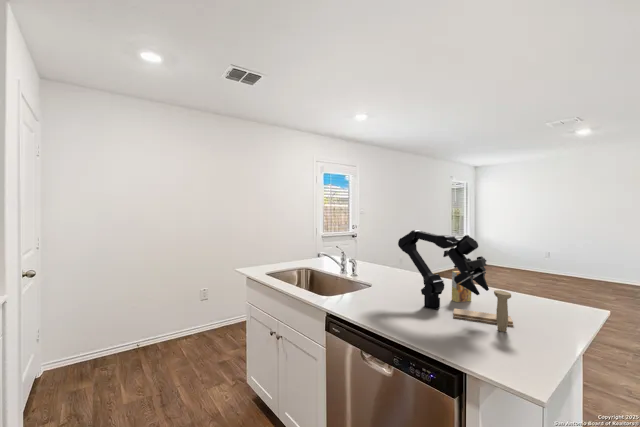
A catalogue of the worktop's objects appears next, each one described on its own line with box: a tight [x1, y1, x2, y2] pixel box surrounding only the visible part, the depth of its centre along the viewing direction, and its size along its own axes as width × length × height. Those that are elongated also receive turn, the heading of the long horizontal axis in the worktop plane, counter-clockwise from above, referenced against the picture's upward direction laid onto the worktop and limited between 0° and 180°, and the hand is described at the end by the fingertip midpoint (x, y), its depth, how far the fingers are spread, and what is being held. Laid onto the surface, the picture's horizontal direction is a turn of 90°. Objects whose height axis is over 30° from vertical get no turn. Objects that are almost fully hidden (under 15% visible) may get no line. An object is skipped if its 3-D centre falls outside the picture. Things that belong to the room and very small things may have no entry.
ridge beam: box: [452, 308, 514, 328], centre depth 128 cm, size 22×10×2 cm, turn 64°
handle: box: [493, 289, 512, 333], centre depth 115 cm, size 5×6×15 cm
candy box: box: [451, 270, 472, 303], centre depth 152 cm, size 9×4×15 cm, turn 103°
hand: (483, 292), depth 122 cm, fingers open, 9 cm apart
